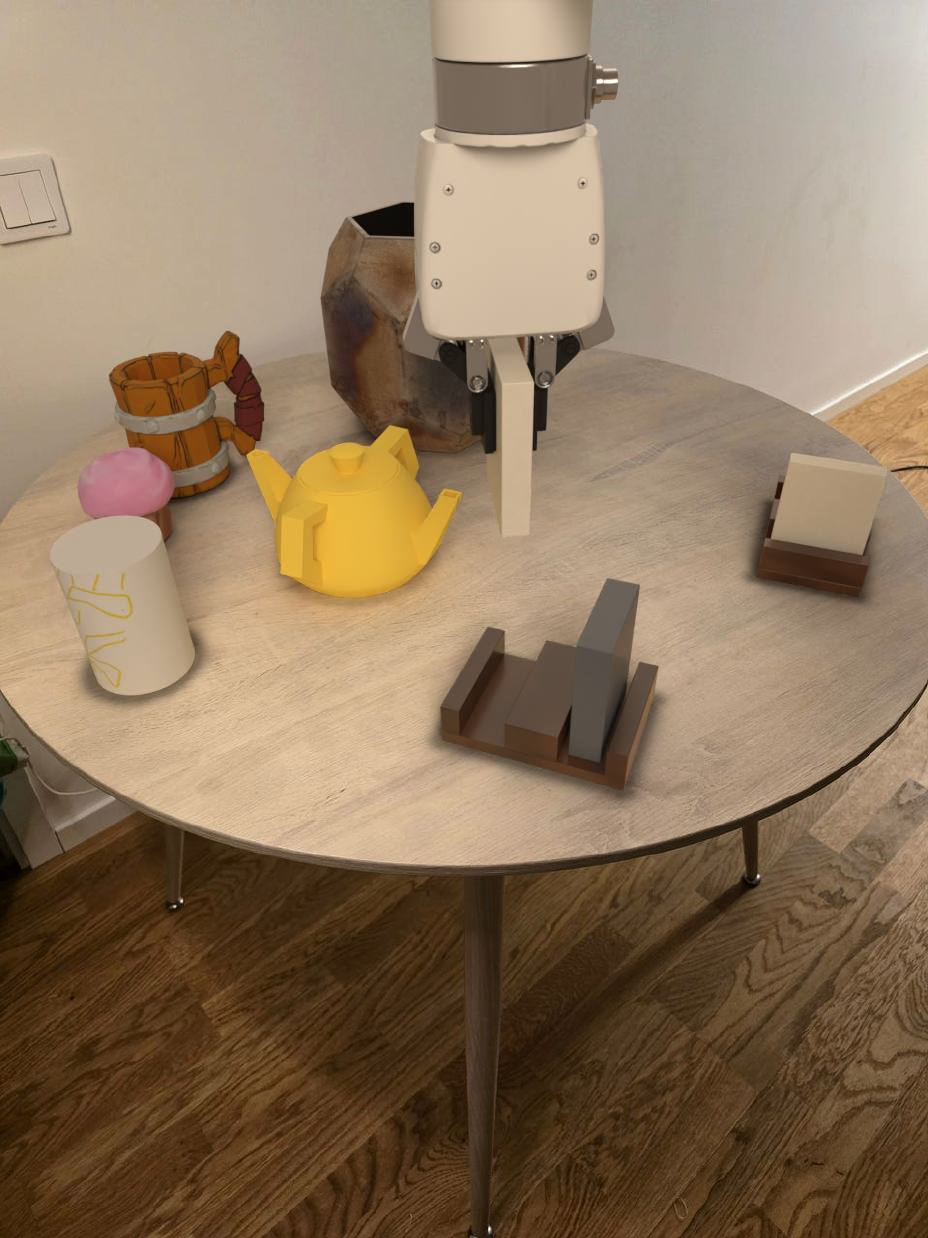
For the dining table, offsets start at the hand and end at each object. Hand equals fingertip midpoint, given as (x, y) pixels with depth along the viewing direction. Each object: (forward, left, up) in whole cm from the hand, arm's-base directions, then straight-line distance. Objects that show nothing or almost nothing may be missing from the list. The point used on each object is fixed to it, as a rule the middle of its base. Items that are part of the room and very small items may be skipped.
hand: (507, 440), depth 54 cm
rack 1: (-4, 0, -23) cm, 23 cm away
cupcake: (+42, -10, -23) cm, 49 cm away
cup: (+30, +5, -23) cm, 39 cm away
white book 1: (0, 0, -5) cm, 5 cm away
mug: (+45, -25, -23) cm, 57 cm away
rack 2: (-21, -32, -23) cm, 44 cm away
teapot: (+20, -15, -23) cm, 34 cm away
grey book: (-7, 0, -22) cm, 23 cm away
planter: (+25, -45, -23) cm, 56 cm away
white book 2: (-21, -28, -22) cm, 41 cm away
